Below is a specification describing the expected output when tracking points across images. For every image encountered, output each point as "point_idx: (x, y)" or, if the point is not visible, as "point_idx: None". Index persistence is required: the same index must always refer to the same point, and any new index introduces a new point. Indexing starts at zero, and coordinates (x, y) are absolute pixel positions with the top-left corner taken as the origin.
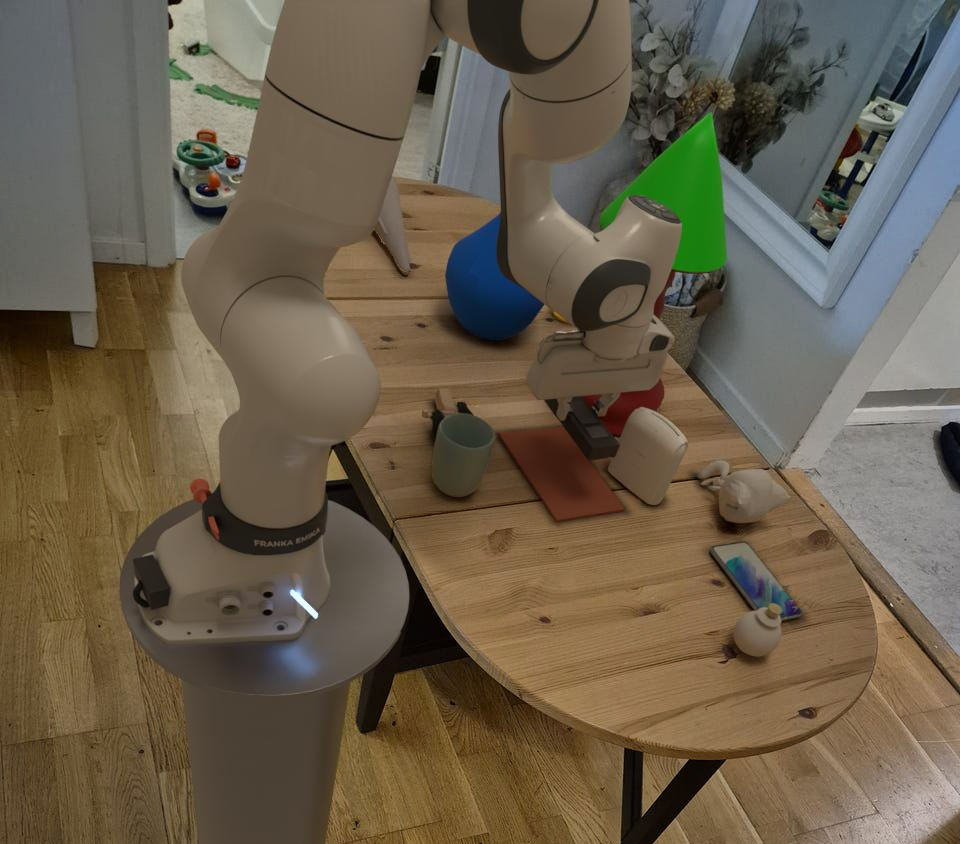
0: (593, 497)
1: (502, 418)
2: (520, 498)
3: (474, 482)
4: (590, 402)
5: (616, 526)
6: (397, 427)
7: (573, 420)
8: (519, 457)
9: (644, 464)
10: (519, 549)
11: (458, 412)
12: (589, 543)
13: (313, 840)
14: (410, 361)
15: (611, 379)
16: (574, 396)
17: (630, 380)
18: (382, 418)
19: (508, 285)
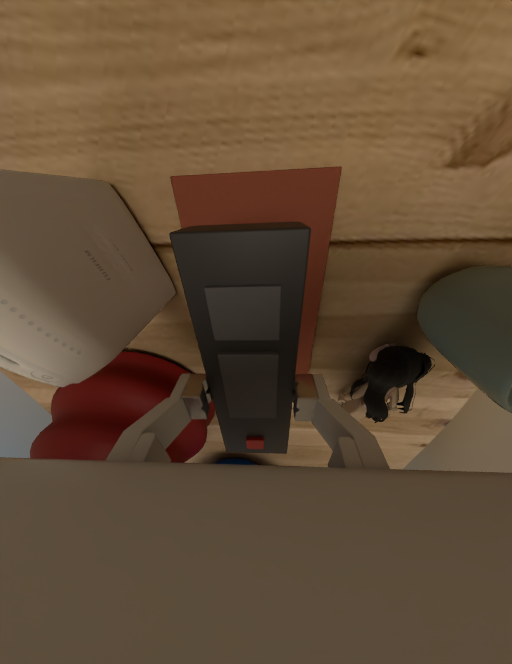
0: None
1: None
2: (361, 253)
3: (509, 270)
4: None
5: (205, 121)
6: (417, 394)
7: (291, 369)
8: (308, 334)
9: (93, 241)
10: (498, 70)
11: (389, 407)
12: (303, 54)
13: None
14: (331, 449)
15: (148, 599)
16: (363, 472)
17: (14, 556)
18: (421, 405)
19: None
